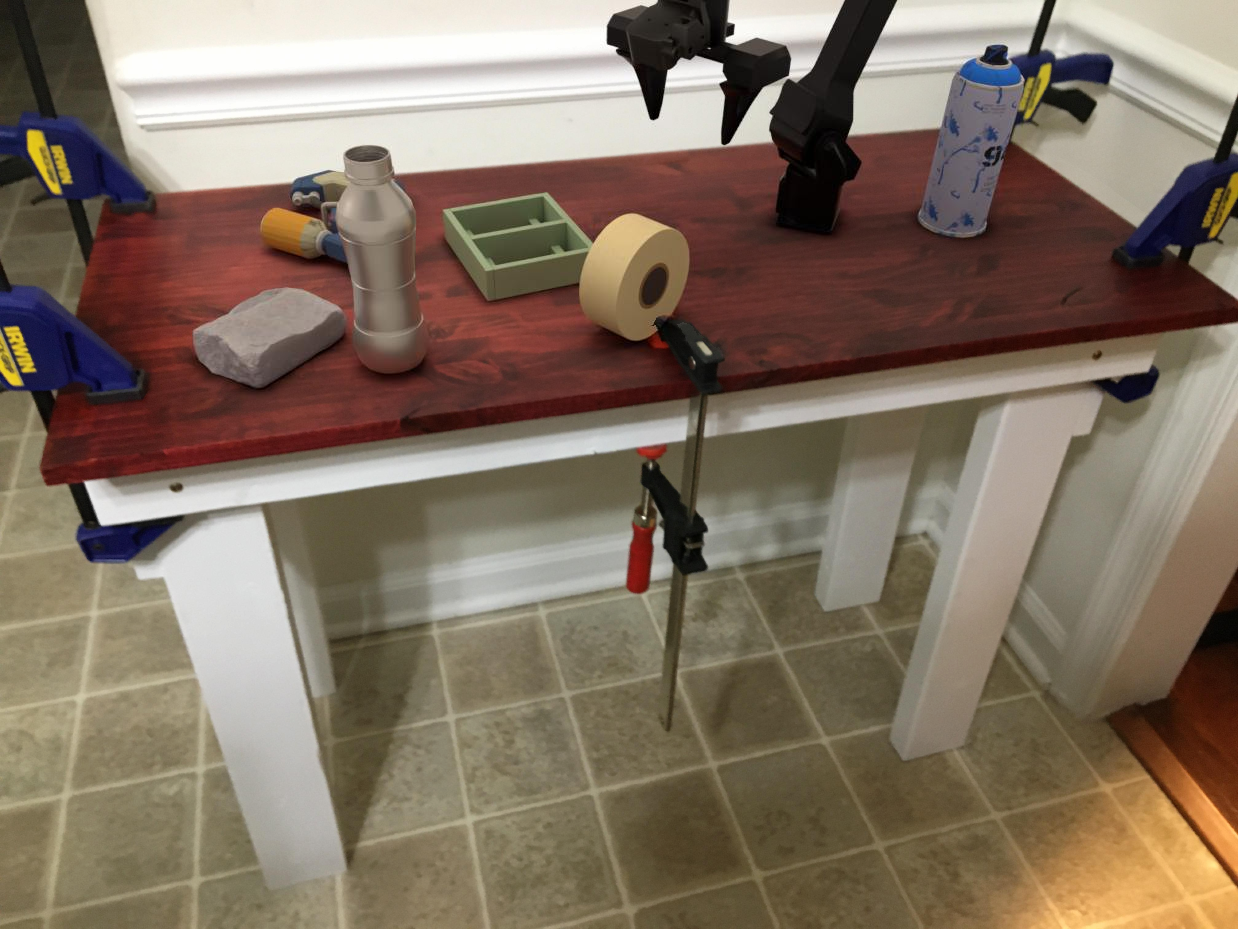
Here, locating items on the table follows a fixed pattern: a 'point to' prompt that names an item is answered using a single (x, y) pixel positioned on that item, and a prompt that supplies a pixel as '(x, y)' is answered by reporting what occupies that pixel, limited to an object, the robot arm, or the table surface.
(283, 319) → the stone block
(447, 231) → the green divided tray
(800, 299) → the table surface
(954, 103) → the aerosol can
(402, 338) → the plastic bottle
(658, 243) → the masking tape roll
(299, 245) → the spray gun
